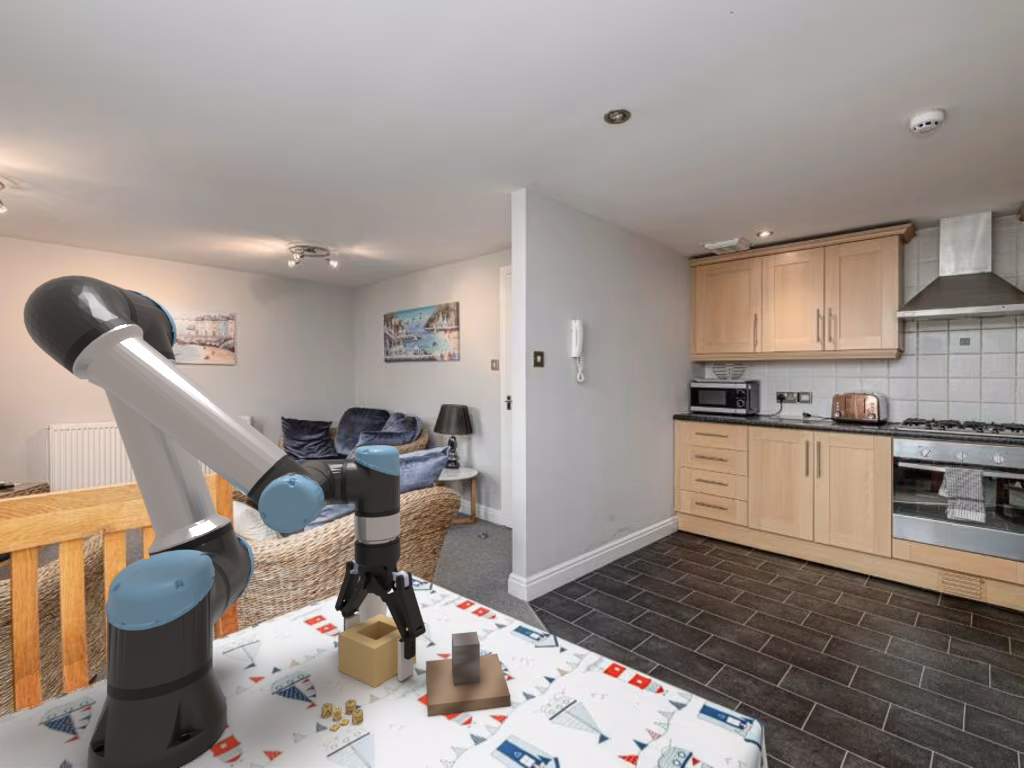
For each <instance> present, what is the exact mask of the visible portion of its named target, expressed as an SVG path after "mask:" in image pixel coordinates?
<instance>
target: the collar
mask: <svg viewBox="0 0 1024 768" xmlns="http://www.w3.org/2000/svg"><path fill="white" fill-rule="evenodd" d="M406 630H408V628H406ZM337 638H338V639H337V640H338V642H337V643H338V645H337V652H338V655H337V656H338V658H337V660H338V661H337V665H338V667H337V668H338V671H340V672H341V673H343V674H346V675H348V676H350V677H352V678H354V679H356V680H358V681H361V682H362V683H364V684H366V685H369V686H371V687H373V688H377V687H378V686H380V685H381V684H383V683H384V682H386V681H388V680H389V679H391V678H393V677H394V676H396V675H398V639H399V638H401V635H400V633H399V630H398V628H397V626H396V624H395V622H394V620H393V618H392V617H390V616H389V615H386V616H385V615H382V614H379V615H377V616H375V617H373V618H370V619H368V620H366V621H364V622H362V623H360V624H358V625H356V626H354V627H352V628H349V629H347V630H345V631H344V630H343V631H341V632H339V633H338V635H337ZM415 648H416V649H417V646H416V647H415ZM415 663H417V653H416V654H415V656H414V657H413V664H415Z"/></svg>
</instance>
